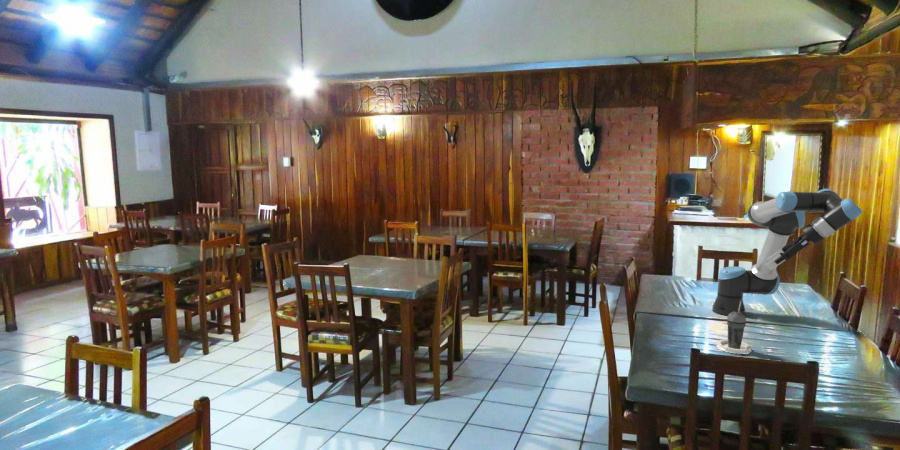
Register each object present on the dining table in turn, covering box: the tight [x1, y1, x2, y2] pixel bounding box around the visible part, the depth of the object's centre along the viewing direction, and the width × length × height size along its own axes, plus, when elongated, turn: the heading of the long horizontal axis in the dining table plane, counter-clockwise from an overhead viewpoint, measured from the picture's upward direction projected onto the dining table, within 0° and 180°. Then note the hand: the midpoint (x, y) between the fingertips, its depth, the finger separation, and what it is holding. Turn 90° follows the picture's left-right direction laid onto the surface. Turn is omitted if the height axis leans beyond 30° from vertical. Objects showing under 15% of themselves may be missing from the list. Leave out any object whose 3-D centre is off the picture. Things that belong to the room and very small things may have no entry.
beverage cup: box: [726, 301, 747, 349], centre depth 230 cm, size 7×7×20 cm
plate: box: [716, 339, 753, 353], centre depth 232 cm, size 13×13×2 cm
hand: (768, 264), depth 222 cm, fingers open, 13 cm apart
